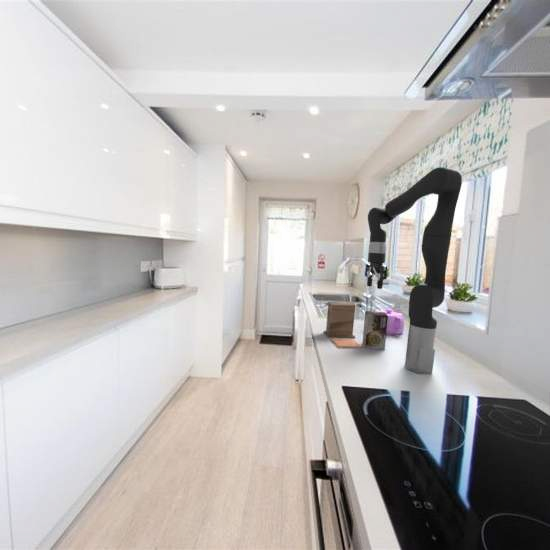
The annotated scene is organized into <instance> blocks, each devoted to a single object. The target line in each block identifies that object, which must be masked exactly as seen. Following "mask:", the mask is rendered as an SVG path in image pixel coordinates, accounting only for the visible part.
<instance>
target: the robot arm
mask: <svg viewBox="0 0 550 550" xmlns="http://www.w3.org/2000/svg"><path fill="white" fill-rule="evenodd" d="M462 183H463V177H462V175H461V173H460V172H459V171H458V170H455V169H451V168H447V167H442V166H441V167H436V168H433V169H432V170H430V171H429V172H428V173H426V174H425V175H424V176H423V177H422V178H420V179H419V180H418V181H417V182H416V183H415V184H414V185H412V186H411V187H409V189H407V190H406V191H405V192H403V193H401V194H400V195H398V196H396V197H394V198H393V199H391V200H390V201H388V202H387V203H386V204H385V207H384V208H382V207H371V209H370V210H369V211H368V213H367V223H368V227H369V232H370V236H369V245H368V254H367V262H368V263H366V264H365V269H364V271H365V272H364V277H366V279H367V281H366V286H367V287H372V285H373V278H374V276H376V278H377V284H376V288H377V289H378V290H380V289H381V290H382V289H383V286H384V285H383V284H384V281H385V280H387V277H388V276H387V275H388V266H387V265H383V264H385V263H386V256H387V255H386V252H387V231H386V230H385V229H384V228H382V226H381V225H386V224H389V223H391V222H392V221H393V220H394V219H395V218H396V217H398V216H399V215H401V214H403V213H405V212H407V211H409V210H410V209H411V208H412V207H413V206H414V205H415V204H416V202H417V201H418V200H420V199H421V198H423V197H426V196H429V195H433V194H434V195H436V196H437V202H436V203H437V204H436V209H435V211H434V213H433V215H432V216H431V218H430V219H429V221H428V223H427V224H426V225H425V228H424V230H423V233H422V240H421V254H422V258H423V261H424V265H425V278H424V282H423V283H421V284H417V285H414V286H413V287H412V288H411V290H410V292H409V293H410V294H409V298H408V299H409V302H408V318H409V325H408V326H409V328H408V334H407V342H406V350H405V351H406V353H405V359H404V361H405V362H404V367H405V368H406V369H407V370H409V371H412V372H414V373H416V374H432V375H433V370H434V369H433V368H434V362H435V361H434V360H435V355H436V354H435V353H436V349H435V341H436V333H437V325H438V321H437V319H436V318H434V317H433V308H437V307H439V306H441V305H442V304H443V302H444V300H445V294H446V272H447V264H448V257H449V252H450V251H449V250H450V247H451V239H452V233H453V232H452V230H453V225H454V219H455V218H454V217H455V212H456V207H457V204H458V200H459V196H460V192H461V189H462Z"/></svg>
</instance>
